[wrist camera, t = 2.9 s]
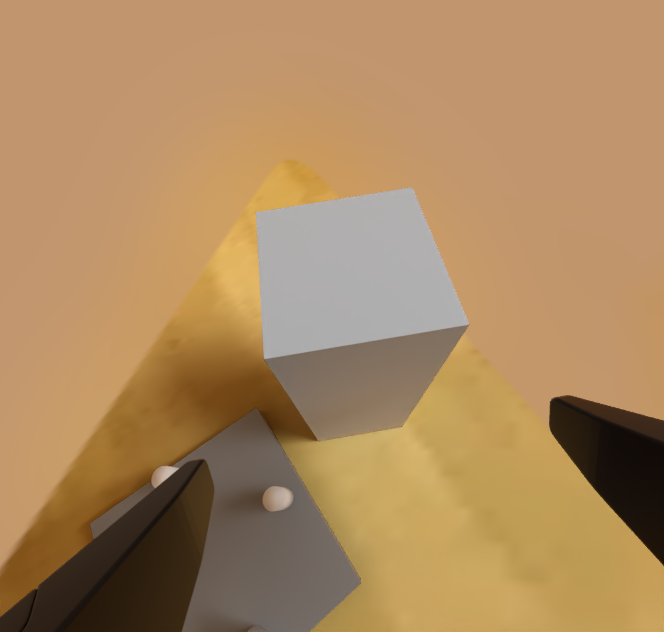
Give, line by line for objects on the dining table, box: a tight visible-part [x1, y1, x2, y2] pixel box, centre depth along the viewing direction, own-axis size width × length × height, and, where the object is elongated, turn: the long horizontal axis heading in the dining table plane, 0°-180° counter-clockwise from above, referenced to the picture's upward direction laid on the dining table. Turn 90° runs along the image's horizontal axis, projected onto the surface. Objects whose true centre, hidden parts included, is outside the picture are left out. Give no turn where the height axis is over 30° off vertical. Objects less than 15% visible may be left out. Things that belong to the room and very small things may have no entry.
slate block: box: [256, 187, 469, 441], centre depth 15 cm, size 5×5×13 cm
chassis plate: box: [90, 408, 361, 632], centre depth 15 cm, size 10×10×4 cm
